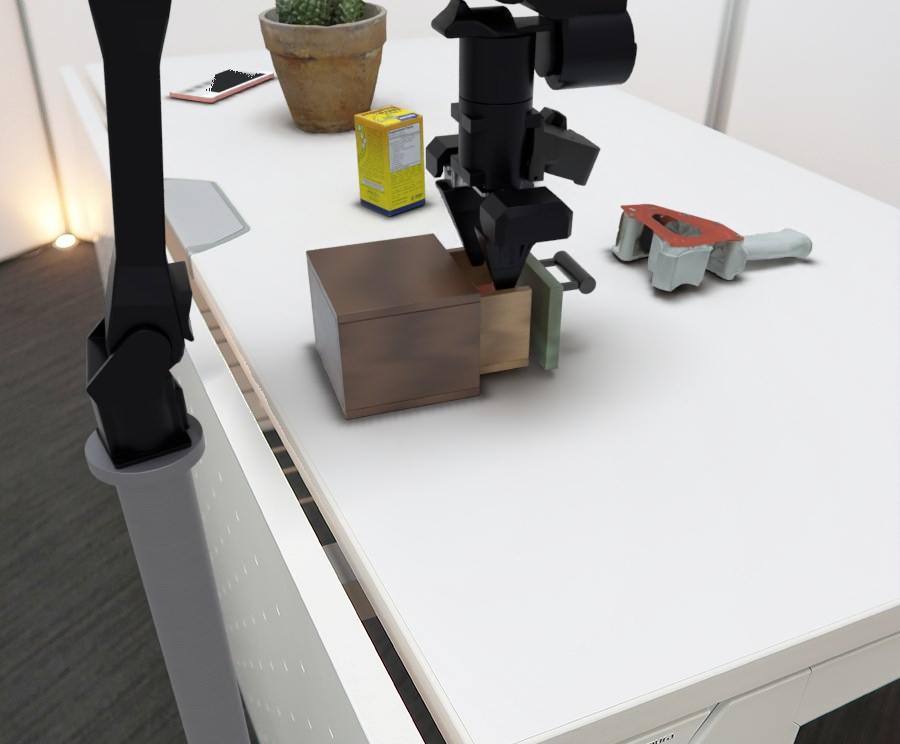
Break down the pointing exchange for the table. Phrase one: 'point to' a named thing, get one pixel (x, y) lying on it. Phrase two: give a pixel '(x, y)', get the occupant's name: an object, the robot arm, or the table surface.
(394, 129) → the supplement box
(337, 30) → the potted plant
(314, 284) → the cabinet
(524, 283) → the drawer
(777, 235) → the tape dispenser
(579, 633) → the table surface
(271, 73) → the cell phone
